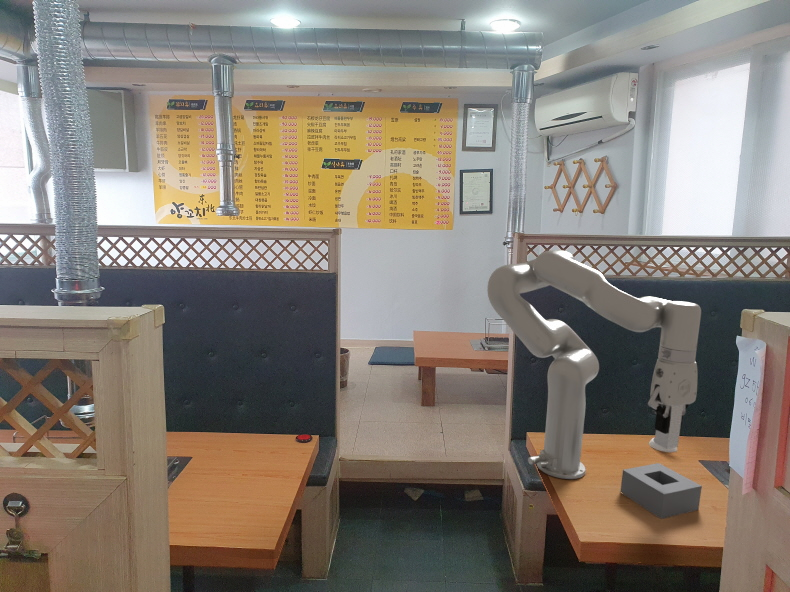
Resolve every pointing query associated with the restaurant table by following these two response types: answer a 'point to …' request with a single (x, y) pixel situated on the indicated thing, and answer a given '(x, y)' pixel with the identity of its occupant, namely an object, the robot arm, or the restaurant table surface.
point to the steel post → (671, 429)
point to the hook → (660, 448)
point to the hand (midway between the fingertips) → (667, 429)
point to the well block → (661, 490)
